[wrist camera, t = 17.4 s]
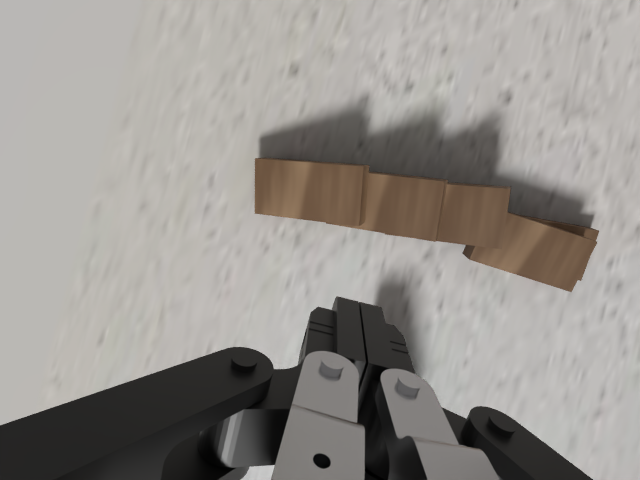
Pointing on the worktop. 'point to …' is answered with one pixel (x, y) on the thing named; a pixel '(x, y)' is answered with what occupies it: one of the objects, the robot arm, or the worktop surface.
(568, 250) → the tile
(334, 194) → the end tile
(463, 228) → the tile
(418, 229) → the tile
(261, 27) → the worktop surface
